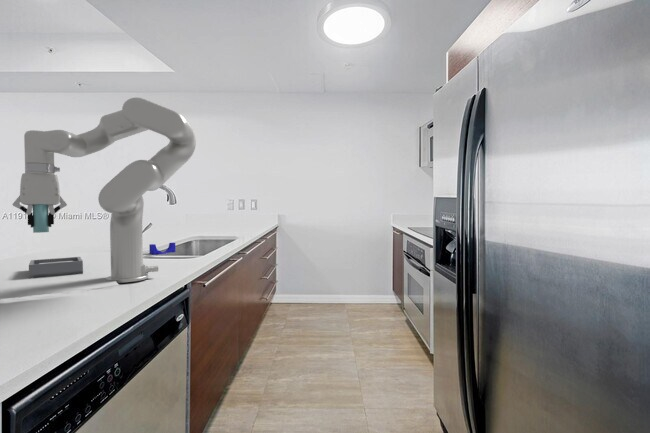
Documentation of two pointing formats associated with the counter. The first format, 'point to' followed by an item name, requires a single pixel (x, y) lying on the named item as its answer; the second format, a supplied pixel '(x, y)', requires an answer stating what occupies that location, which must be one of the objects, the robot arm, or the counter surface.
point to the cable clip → (154, 251)
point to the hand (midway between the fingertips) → (41, 226)
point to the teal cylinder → (40, 218)
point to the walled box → (55, 267)
